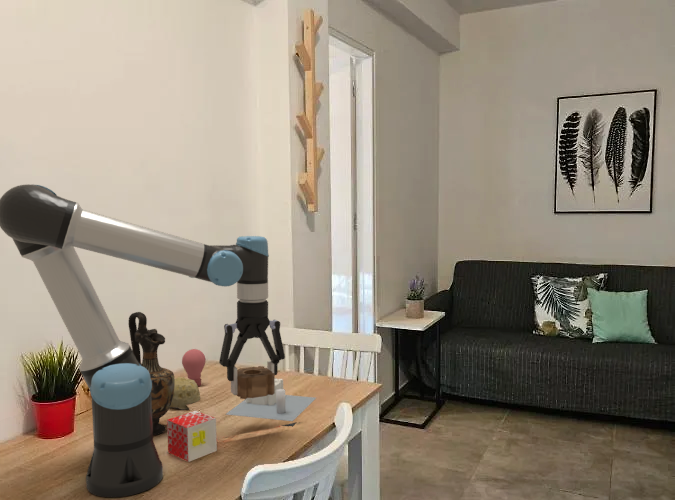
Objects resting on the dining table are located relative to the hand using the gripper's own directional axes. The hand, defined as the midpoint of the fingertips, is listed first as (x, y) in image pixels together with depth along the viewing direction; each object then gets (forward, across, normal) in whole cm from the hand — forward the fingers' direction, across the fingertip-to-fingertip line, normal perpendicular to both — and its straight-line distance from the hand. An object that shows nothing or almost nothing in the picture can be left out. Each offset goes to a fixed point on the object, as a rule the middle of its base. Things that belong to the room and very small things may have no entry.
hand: (252, 390), depth 153 cm
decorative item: (+12, +9, -31) cm, 34 cm away
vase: (+12, +21, -16) cm, 29 cm away
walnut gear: (0, 0, 0) cm, 0 cm away
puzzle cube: (+12, +16, +2) cm, 20 cm away
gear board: (+11, -11, -14) cm, 21 cm away
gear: (+10, -11, -20) cm, 24 cm away
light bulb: (+12, +2, -45) cm, 47 cm away
